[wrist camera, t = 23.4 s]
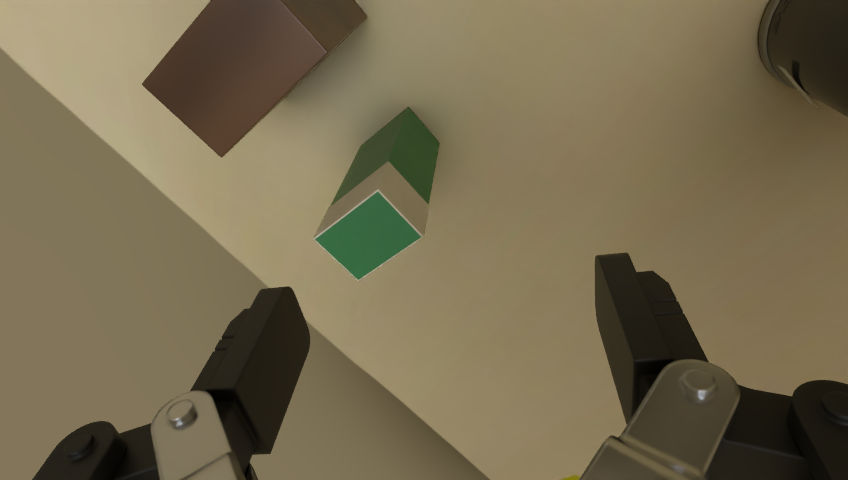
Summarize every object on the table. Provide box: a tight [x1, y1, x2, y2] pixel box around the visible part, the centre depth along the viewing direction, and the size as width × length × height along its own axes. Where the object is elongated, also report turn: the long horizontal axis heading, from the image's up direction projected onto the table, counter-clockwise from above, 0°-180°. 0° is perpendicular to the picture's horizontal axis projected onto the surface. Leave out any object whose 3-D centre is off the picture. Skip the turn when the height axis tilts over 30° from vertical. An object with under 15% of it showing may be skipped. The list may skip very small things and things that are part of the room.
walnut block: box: [142, 0, 367, 157], centre depth 35 cm, size 6×10×12 cm, turn 131°
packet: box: [313, 107, 439, 281], centre depth 38 cm, size 13×6×13 cm
